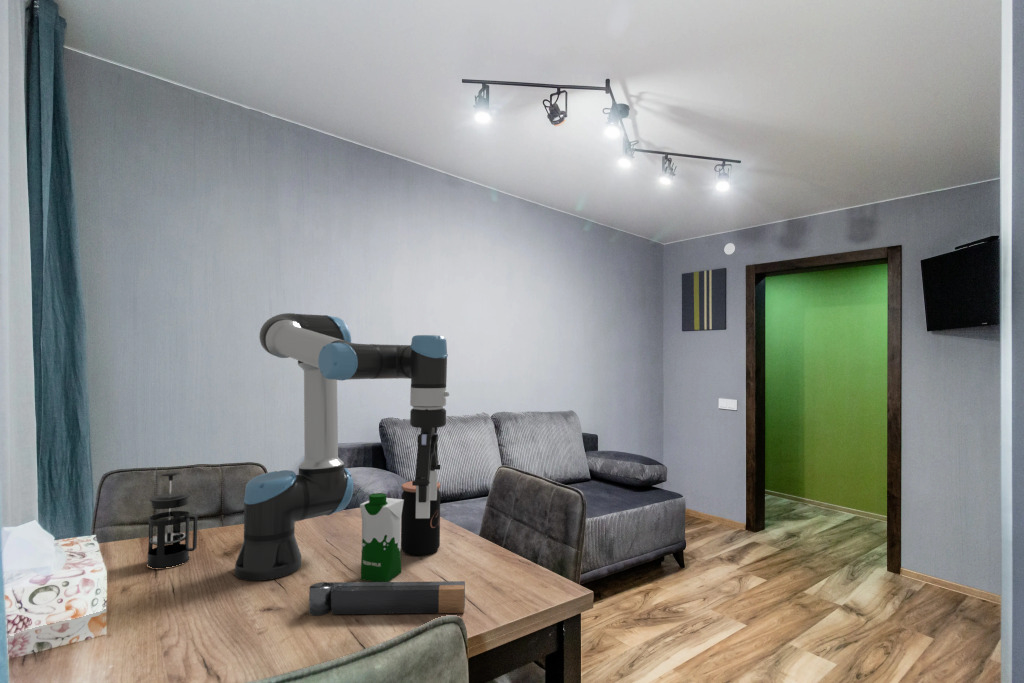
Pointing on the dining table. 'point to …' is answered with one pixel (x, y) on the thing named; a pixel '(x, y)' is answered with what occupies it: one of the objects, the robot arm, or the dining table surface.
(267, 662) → the dining table surface
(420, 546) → the coffee jar
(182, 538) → the french press
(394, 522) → the milk carton
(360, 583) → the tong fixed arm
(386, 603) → the arm
